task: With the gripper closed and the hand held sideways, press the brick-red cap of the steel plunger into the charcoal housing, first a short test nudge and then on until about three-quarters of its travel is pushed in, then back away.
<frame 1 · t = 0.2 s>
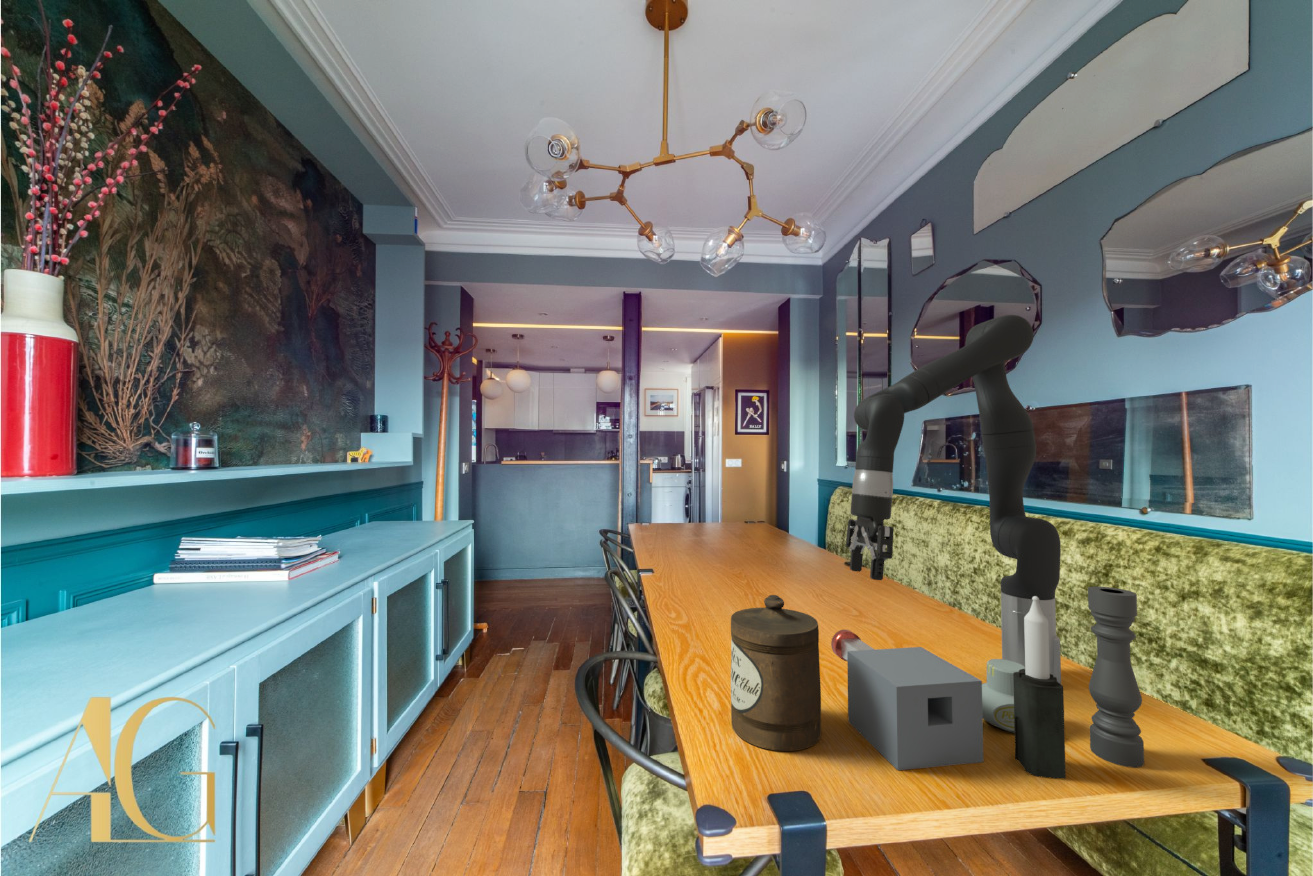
hand: (865, 575, 103), 22 cm above the table, tool pointing down, fingers open, 8 cm apart
candle holder: (1116, 756, 79), on the table
plunger: (872, 663, 94), point 8 cm above the table, slide at 8.0 cm
housing: (911, 740, 83), on the table
candle: (1039, 768, 76), on the table
air freshener: (1007, 725, 89), on the table
wooden container: (775, 729, 87), on the table
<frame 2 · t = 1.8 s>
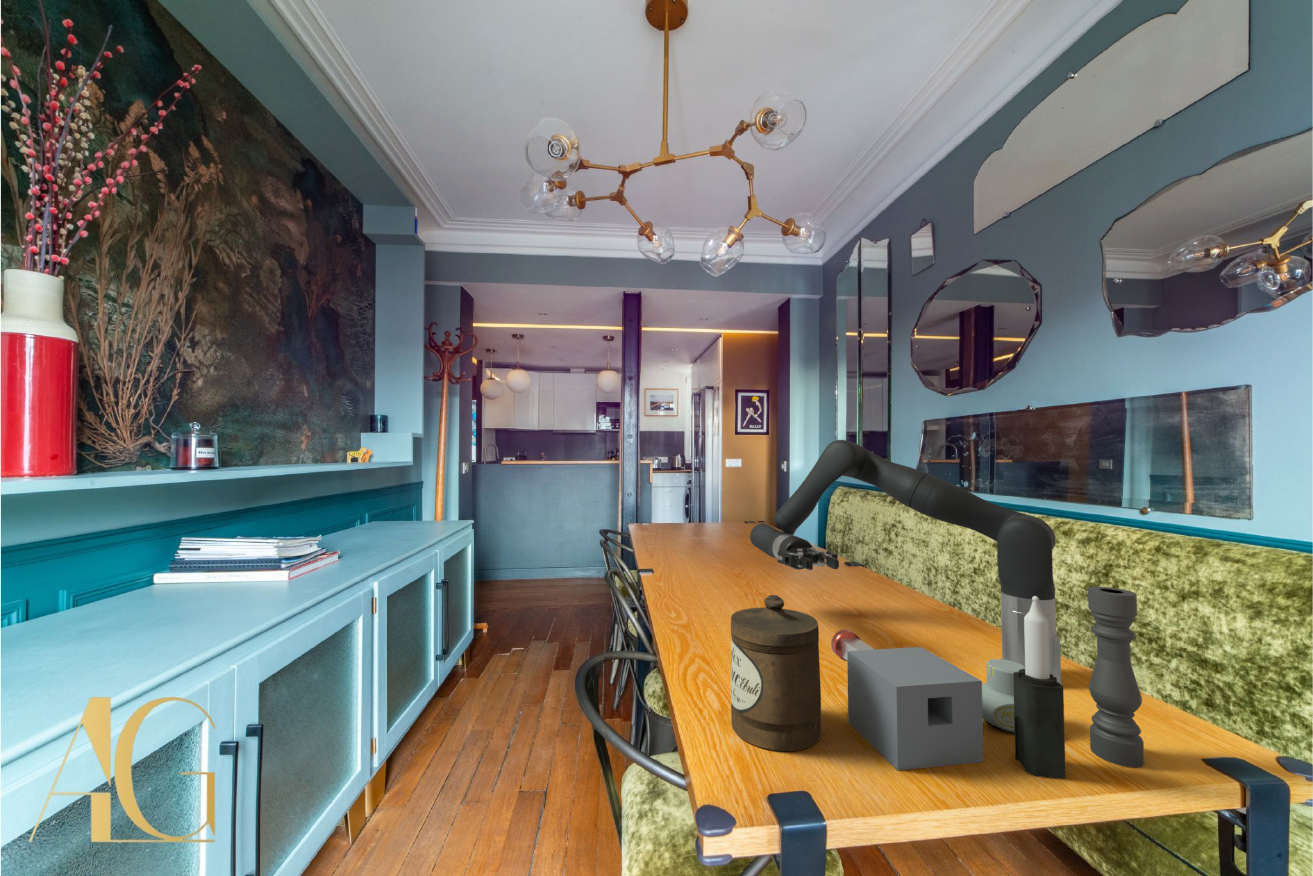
hand: (823, 564, 113), 22 cm above the table, tool horizontal, fingers open, 5 cm apart
nothing on the table moved.
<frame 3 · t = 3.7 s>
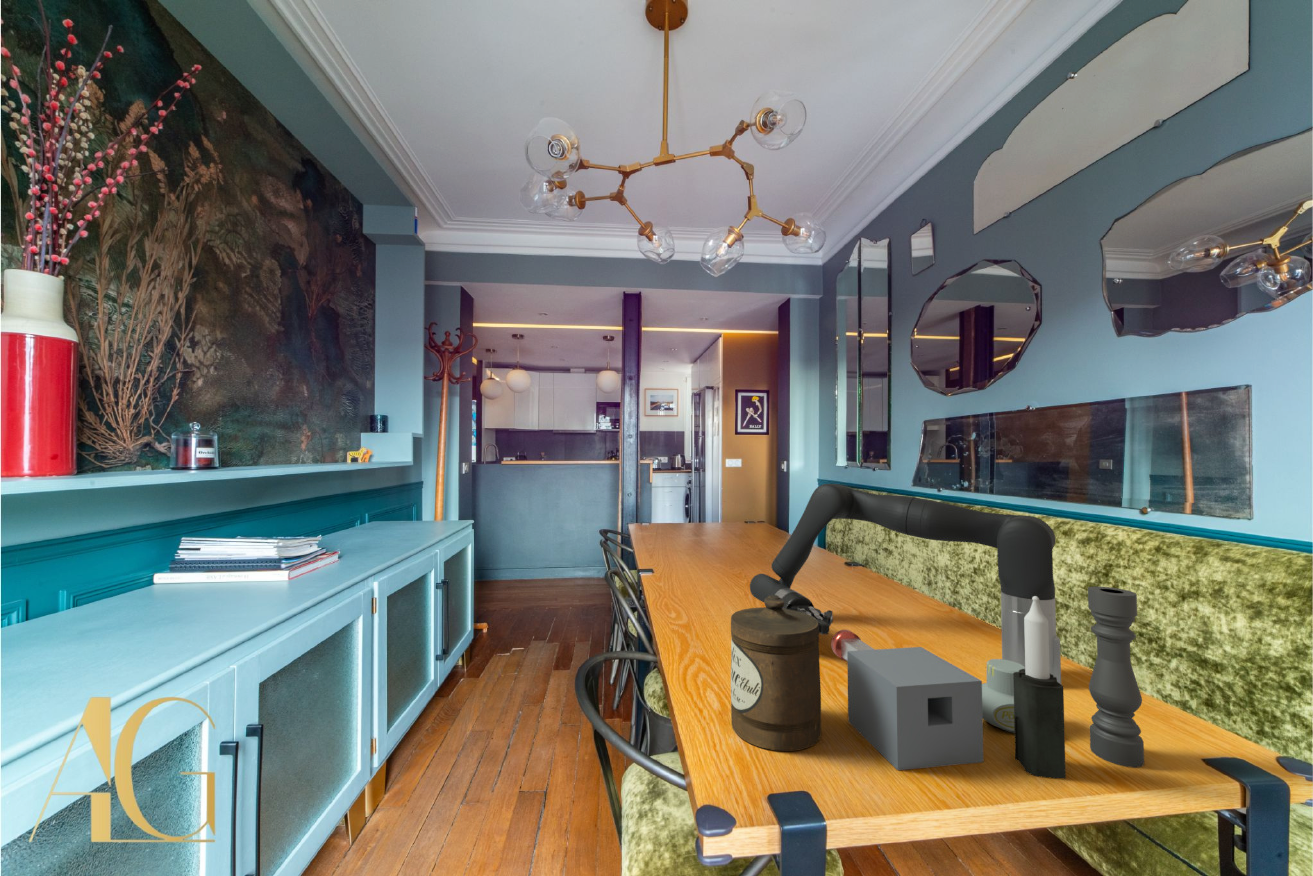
hand: (825, 629, 112), 8 cm above the table, tool horizontal, fingers closed
nothing on the table moved.
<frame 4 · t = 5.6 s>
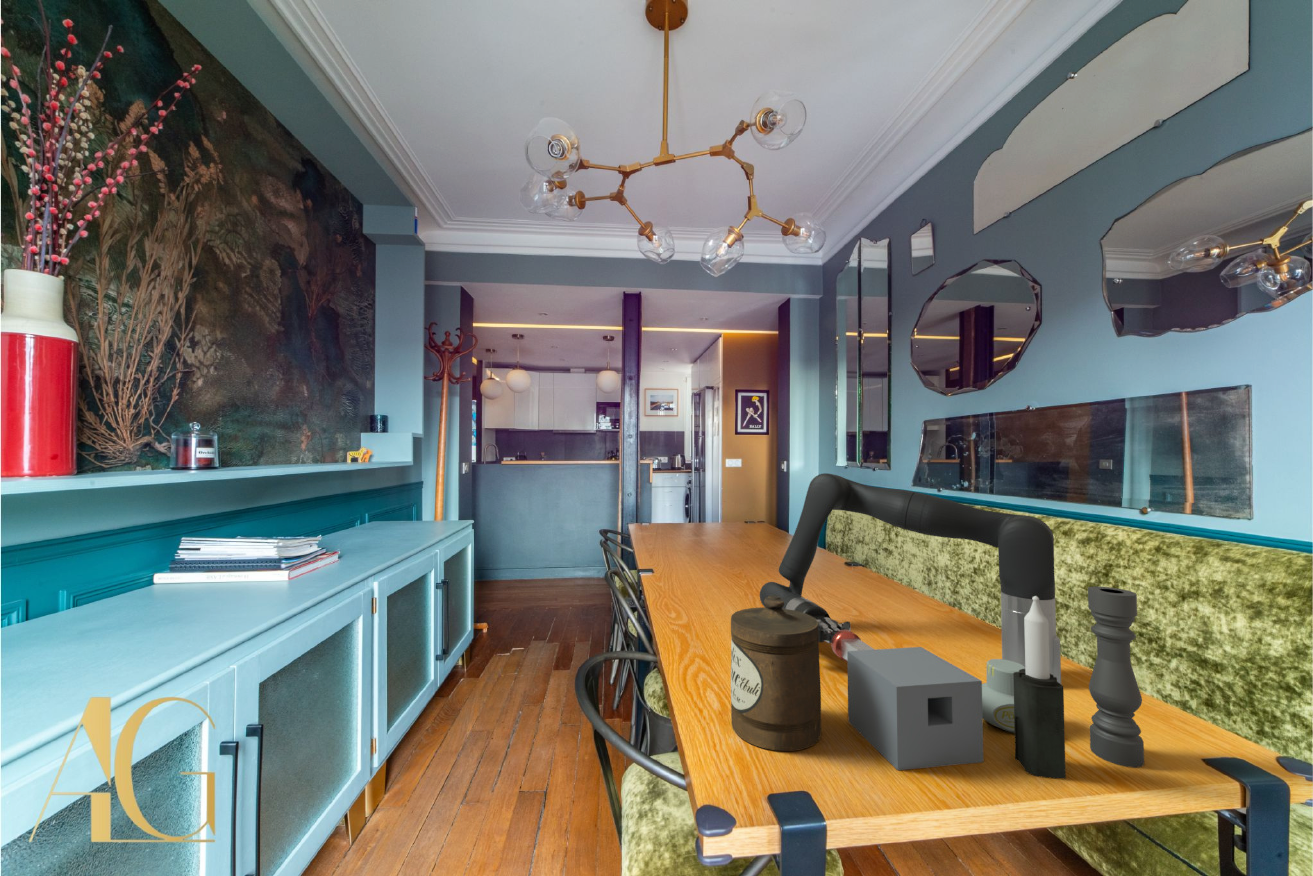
hand: (844, 643, 104), 8 cm above the table, tool horizontal, fingers closed
plunger: (872, 663, 94), point 8 cm above the table, slide at 8.0 cm, touching gripper
everything else where it was.
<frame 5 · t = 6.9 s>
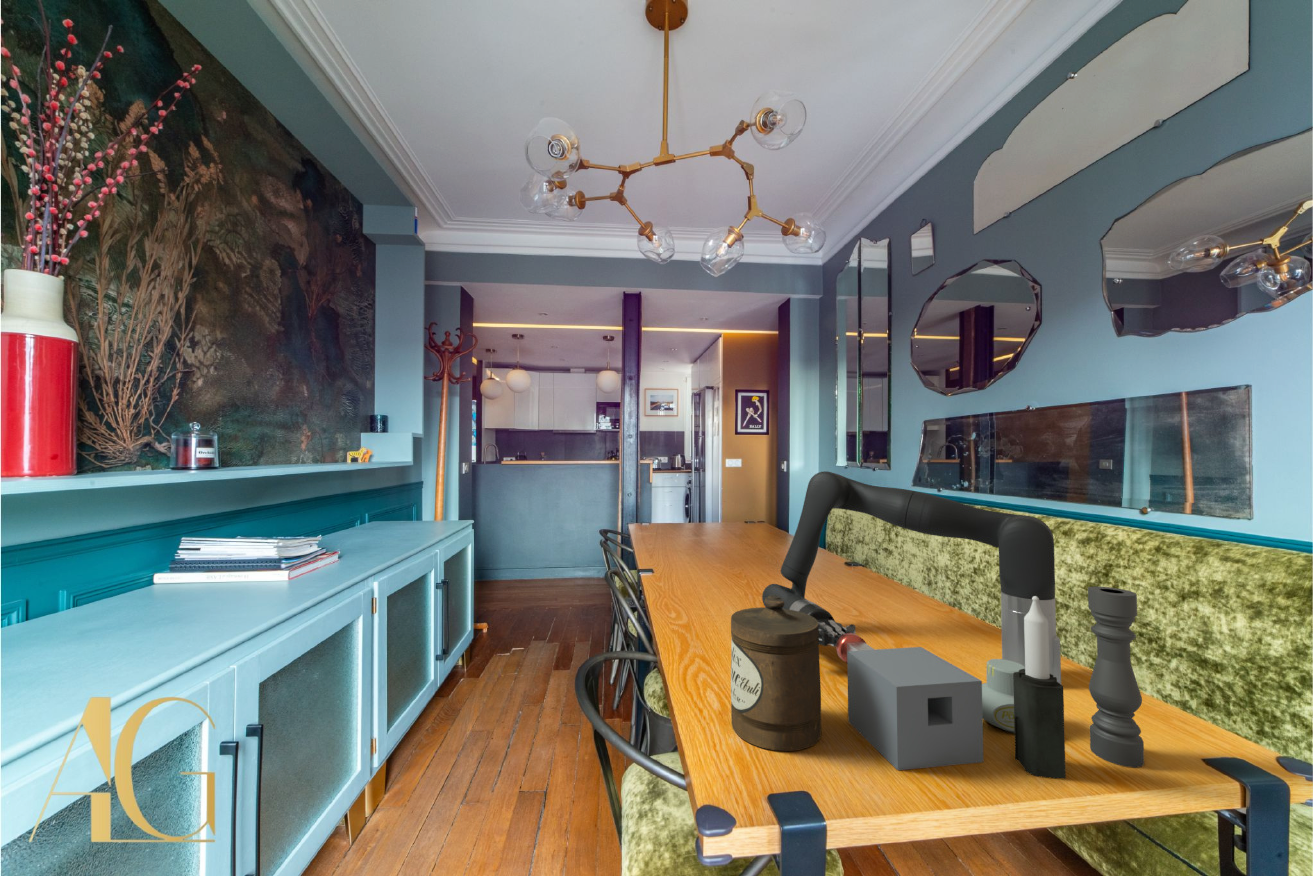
hand: (849, 647, 102), 8 cm above the table, tool horizontal, fingers closed
plunger: (878, 667, 92), point 8 cm above the table, slide at 6.0 cm, touching gripper
everything else where it was.
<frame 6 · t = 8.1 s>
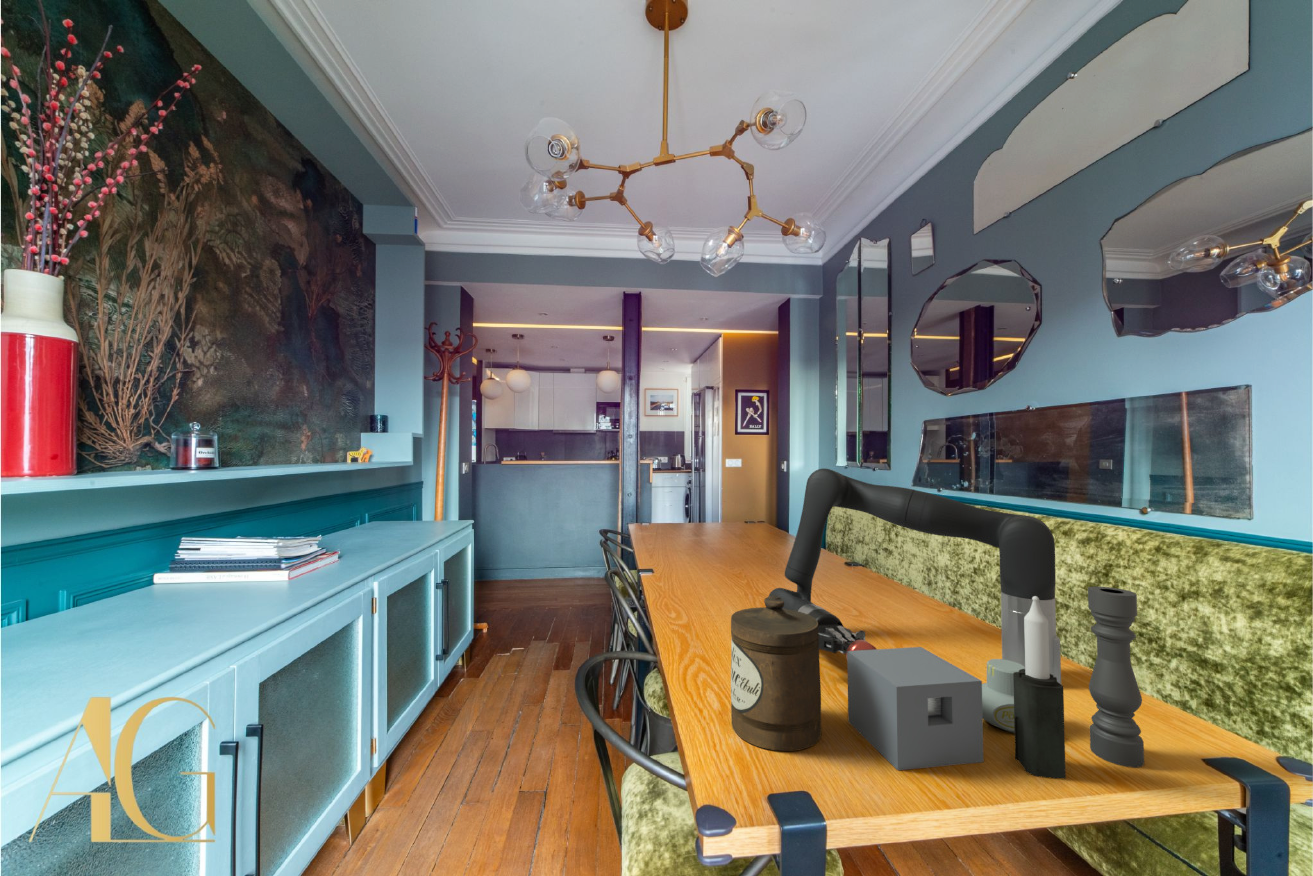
hand: (859, 654, 99), 8 cm above the table, tool horizontal, fingers closed
plunger: (891, 676, 89), point 8 cm above the table, slide at 2.1 cm, touching gripper
everything else where it was.
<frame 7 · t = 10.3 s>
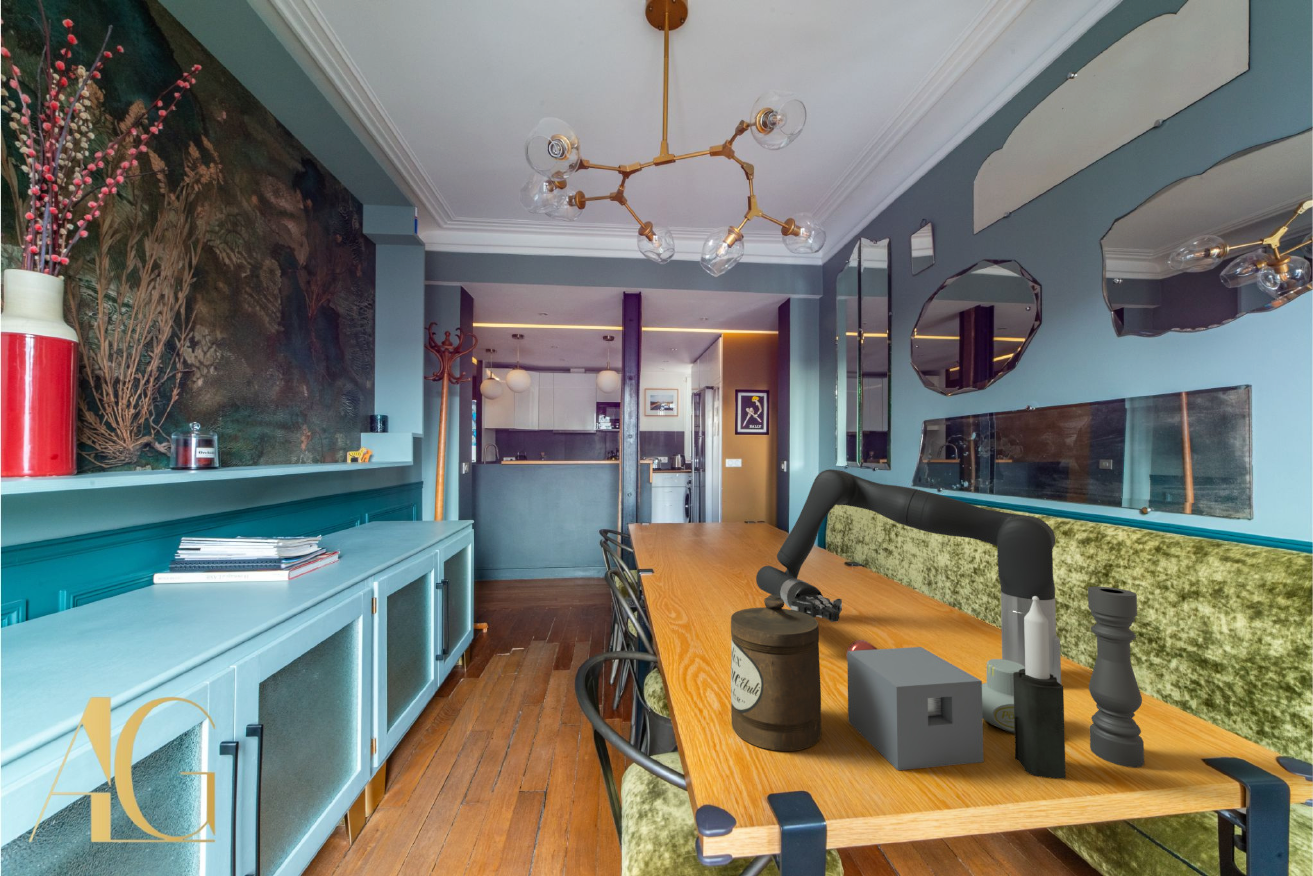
hand: (835, 617, 111), 11 cm above the table, tool horizontal, fingers closed
plunger: (891, 676, 89), point 8 cm above the table, slide at 2.1 cm
everything else where it was.
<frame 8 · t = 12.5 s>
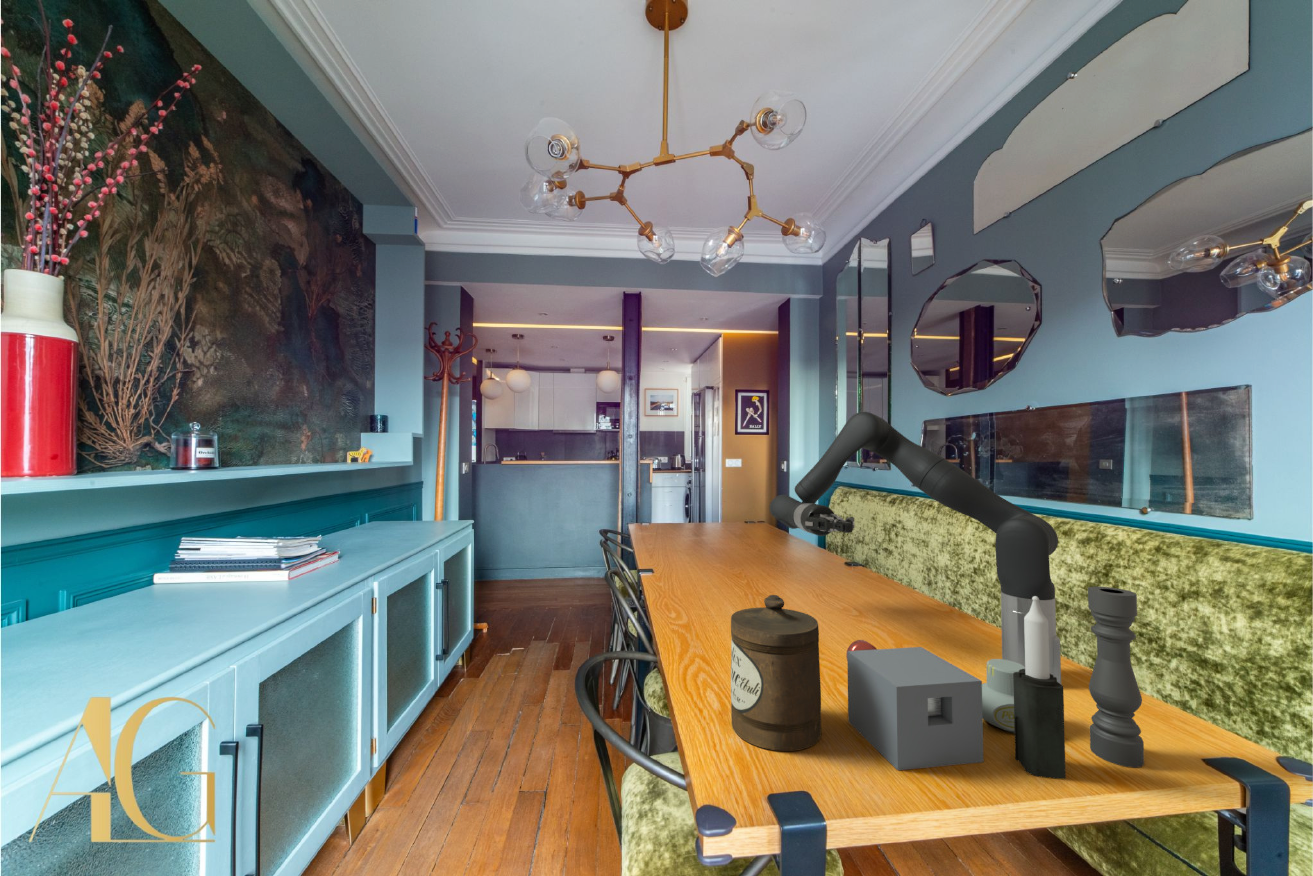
hand: (849, 528, 114), 30 cm above the table, tool horizontal, fingers closed
nothing on the table moved.
at the end: plunger slide at 2.1 cm; wooden container moved 0.3 cm from its start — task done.
